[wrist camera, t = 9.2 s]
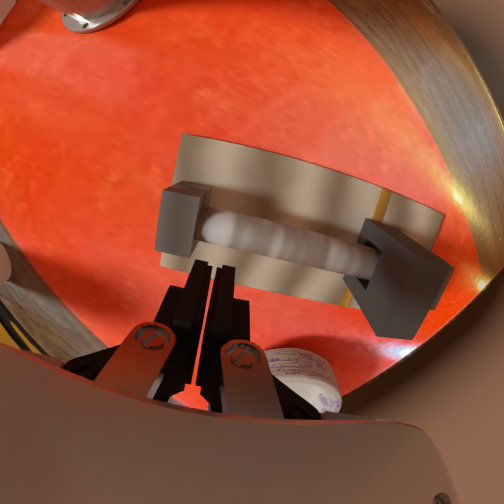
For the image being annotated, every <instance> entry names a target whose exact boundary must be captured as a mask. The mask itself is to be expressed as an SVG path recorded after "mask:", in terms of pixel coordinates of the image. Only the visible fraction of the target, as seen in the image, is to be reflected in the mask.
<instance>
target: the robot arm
mask: <svg viewBox="0 0 504 504" xmlns="http://www.w3.org/2000/svg"><path fill="white" fill-rule="evenodd" d="M38 1H40V2H43V3H45V4H47V5H49V6H51V7H53V8H55V9H57V10H59V11H61V12H62V22H63V25H64V26H65V28H67V29H68V30H70V31H72V32H74V33H80V34H84V33H90V32H94V31H97V30H99V29H102V28H104V27H106V26H108V25H110V24H112V23H113V22H115V21H116V20H118V19H119V18H121V17H122V16H124V15H125V14H126V13H127V12H128V11H130V10H131V9H132V8H133V7H134V6H135V5H136V4H137V3H138V2H139V1H140V0H38ZM212 268H213V266H210V265H208V262H207V261H203V260H198V259H195V261H194V264H193V266H192V269H191V272H190V274H189V277H188V279H187V282H186V285H185V287H184V288H181V287H176V286H172V285H171V286H170V287H169V288H168V291H167V293H166V295H165V297H164V299H163V302H162V304H161V306H160V308H159V311H158V313H157V315H156V317H155V320H154V322H144V323H141V324H139V325H136V326H135V327H134V328H133V329H132V330H131V332H130V333H129V334H128V335H127V337H126V338H125V339H124V341H123V342H122V343H121V345H117V346H114V347H111V348H108V349H105V350H101V351H98V352H95V353H91V354H88V355H85V356H81V357H78V358H74V359H72V360H70V361H68V362H67V363H65V362H63V359H61V358H56V357H51V356H46V355H42V354H37V353H33V352H29V351H25V350H21V349H16V348H13V347H11V346H8V345H6V344H2V343H0V504H460V503H459V500H458V497H457V493H456V490H455V487H454V484H453V481H452V479H451V476H450V473H449V471H448V468H447V466H446V463H445V461H444V459H443V457H442V455H441V453H440V451H439V449H438V447H437V445H436V444H435V442H434V441H433V439H432V438H431V437H430V435H429V434H428V433H427V432H425V431H424V430H422V429H421V428H418V427H416V426H413V425H411V424H406V423H402V422H397V421H389V420H376V419H372V418H366V417H359V416H353V415H347V414H341V413H336V412H330V411H325V412H324V413H320V412H319V411H318V410H317V409H316V408H315V407H314V406H313V405H312V404H310V403H309V402H308V401H306V400H305V399H304V398H302V397H301V396H300V395H298V394H297V393H296V392H294V391H293V390H292V389H290V388H289V387H288V386H287V385H285V384H284V383H283V382H281V381H280V380H279V379H278V378H276V377H275V376H274V375H273V374H271V371H270V367H269V364H268V360H267V357H266V354H265V352H264V351H263V350H262V349H261V348H260V346H258V345H256V344H255V343H253V342H250V310H249V301H246V300H241V299H235V298H233V297H234V284H235V271H236V267H232V266H227V265H223V266H222V268H220V267H217V269H216V274H215V279H214V283H213V288H212V293H211V298H210V303H209V308H208V313H207V318H206V323H205V329H204V335H203V341H202V347H201V353H200V359H199V366H198V372H197V379H196V386H201V392H200V395H202V396H203V397H204V398H205V400H206V401H207V402H208V403H209V404H208V411H206V410H200V409H195V408H190V407H185V406H180V405H175V404H171V401H172V397H173V395H174V394H177V393H179V392H181V391H184V388H185V383H186V384H191V381H192V376H193V370H194V365H195V360H196V355H197V350H198V345H199V340H200V335H201V330H202V325H203V319H204V314H205V308H206V302H207V296H208V290H209V285H210V279H211V274H212Z"/></svg>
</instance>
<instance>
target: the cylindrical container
mask: <svg viewBox="0 0 504 504" xmlns="http://www.w3.org/2000/svg"><path fill="white" fill-rule="evenodd" d="M10 276H11V263H10V259H9V256H8V254H7V251H6V250H5V248H4V246H3V245H2V244H1V243H0V285H1V284H3V283H4V282H5V281H7V280H8V279H9V278H10Z"/></svg>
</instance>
